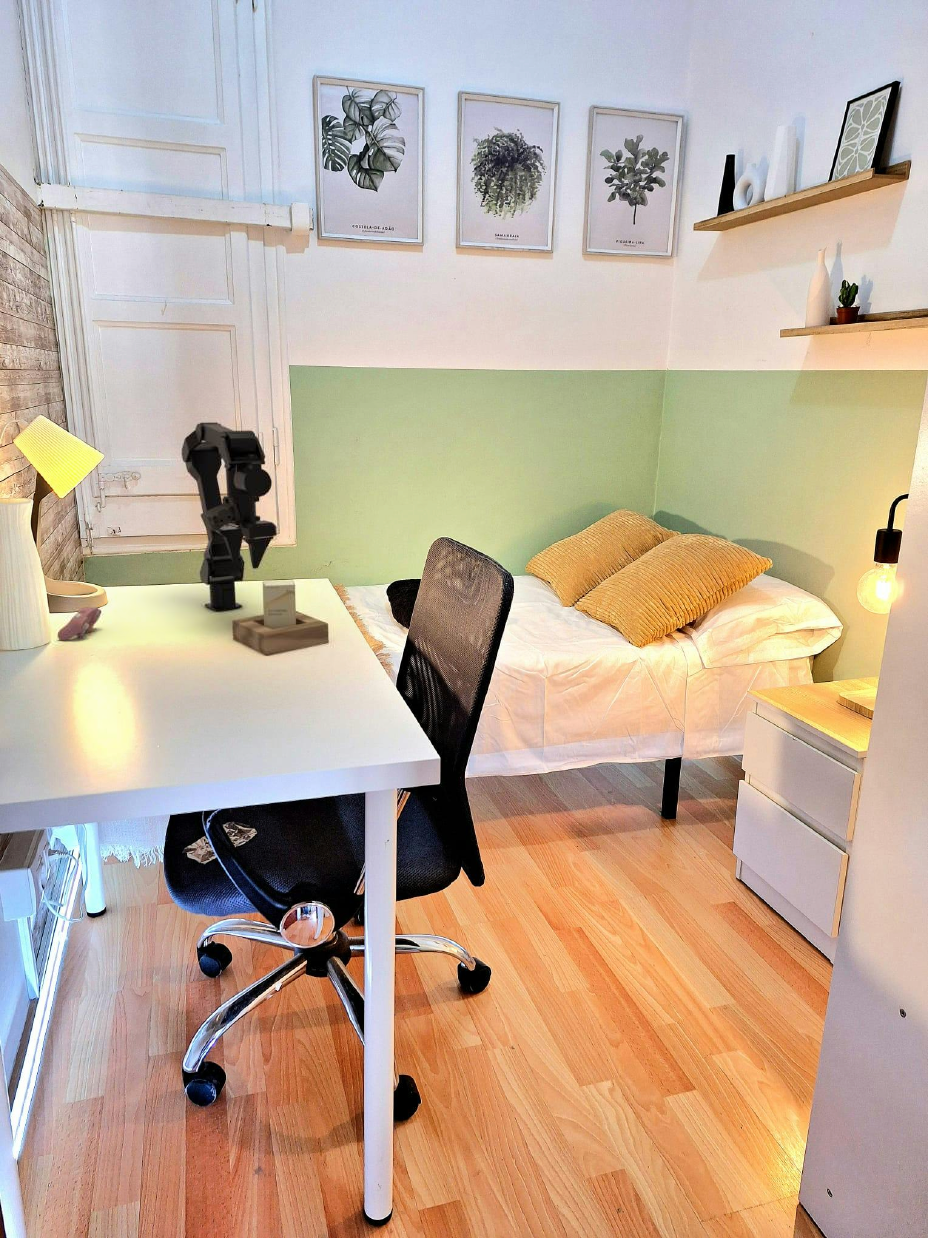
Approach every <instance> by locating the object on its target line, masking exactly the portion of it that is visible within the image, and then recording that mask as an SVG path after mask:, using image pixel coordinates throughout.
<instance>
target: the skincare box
mask: <svg viewBox="0 0 928 1238" xmlns="http://www.w3.org/2000/svg"><path fill="white" fill-rule="evenodd" d="M262 605H263V615H264V626H265V627H267V628H270V629H278V628H283V627H288V626H293V625H296V611H297V610H296V607H297V605H296V584H295V581H294V580H293V579H289V580H269V581H268V580H265V581H262Z"/></svg>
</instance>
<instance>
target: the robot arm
mask: <svg viewBox="0 0 928 1238" xmlns="http://www.w3.org/2000/svg"><path fill="white" fill-rule="evenodd" d="M181 459H182V461H183V463H185V467H186V471H187V473H188V474H189V475H190V476H191V477H192V478H193V479H194V480H195V481H196V483H197V490H198V494H199V495H198V496H199V501H200V505H201V510H202V513H201V514H200V517H201V521H202V522H203V525H204V527H205V531H206V535H207V541H208V543H207V545H206V546H205V547H206V548H205V549H204V552H203V561H202V563H201V567H200V570H199V578H200V582H201V583H203V584H204V585H206V586H209V599H210V602H209V603H208V602H207V603H205V604H204V607H206V608H208V609H211V610H213V611H215V612H221V611H228V610H233V609H240V608H242V607H243V604H240V603H237V601H236V600H237V599H236V584H235V583H236V582H243V581H244V573H245V563H246V562H245V561H244V558H243V555H241V550H242V549H241V548H242V543H243V541H244V542H245V543H246V544H247V545H248V550H249V556H250V563H251V567H252V569H259V566H260V564H261V562H262V560H263V558H264V555H265V553H266V550H267V549H268V547H269V545H270V543H271V541H272V540H274V537H276V536H277V535H278V533H277V532H278V530H277V526H276V524H275V523H273V522H272V521H268V520H264V519H263V520H261V516H260V515H257V505H256V503H259V502H260V498H261V497H264V496H266V495H267V494H268V493H269V492H270V490H271V488H272V483H273V481H272V478H271V476H270V474H269V472H268V471H266V470H265V469H263V468H262V466H263V465H266V454H265V452H264V450H263V447H262V446H261V442H260V441H259V438H258V436H257V435H256V433H255V432H254V431H253V430H233V429H231V428H229V427H226V426H224V425H222V424H221V423H218V422H211V421H210V422H200V423H197V424H196V425H195V430H193V431H192V432H190V433H189V434H188V435H187V436H186V437H185V438H184V441H183V444H182V447H181ZM222 460H223V462H224V465H223V468H224V469H225V480H226V482H225V483H226V495H224V496H223V498H222V496H221V489H220V485H219V479H218V474H219V472H220V470H221V467H222V463H223V462H222Z"/></svg>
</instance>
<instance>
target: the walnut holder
mask: <svg viewBox="0 0 928 1238" xmlns="http://www.w3.org/2000/svg"><path fill="white" fill-rule="evenodd" d="M231 625H232V639H233V640H234V641H236V642H238V643H241V644H242V645H245V646H246V647H248V648H251V649H252V650H254V651H257V652H259V653H260V654H261V655H262V654H263V655H264V656H270V655H276V654H281V653H285V652H290V651H295V650H299V649H303V648H308V647H313V646H319V645H323V644H328V643H329V623H328V622H325V621H322V620H320V619H317V618H315V617H313V616H311V615H307V614H305V613H302V612H299V611H298V610H296V625H293V626H288V627H283V628H278V629H270V628H267V627H265V626H264V614H260V615H254V616H247V617H243V618H238V619H232V620H231Z"/></svg>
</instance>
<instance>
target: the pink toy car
mask: <svg viewBox="0 0 928 1238" xmlns="http://www.w3.org/2000/svg"><path fill="white" fill-rule="evenodd" d="M101 614H102V609H99V608H98V607H95V606H93V607H92V606H91V605H89V606H84V607H82V608H80V609H78V611H77V612H76V614H75V615H74V616H73V617H71V619H70V620H69V622H68V623H67V624H65V625H64V626H63V627H61V628H60V629H59V630H58V632H57V638H58V640H59V641H62V642H63V641H68V640H70V639H72V638H74V637H75V636H77V637H79V638H82V637H83V636H84V635H85V634H86V633H87V634H88V633H90V632H91V631H93V629H94V626H95V624H96V623H97V622H98V621H99V619H100V617H101Z"/></svg>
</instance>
